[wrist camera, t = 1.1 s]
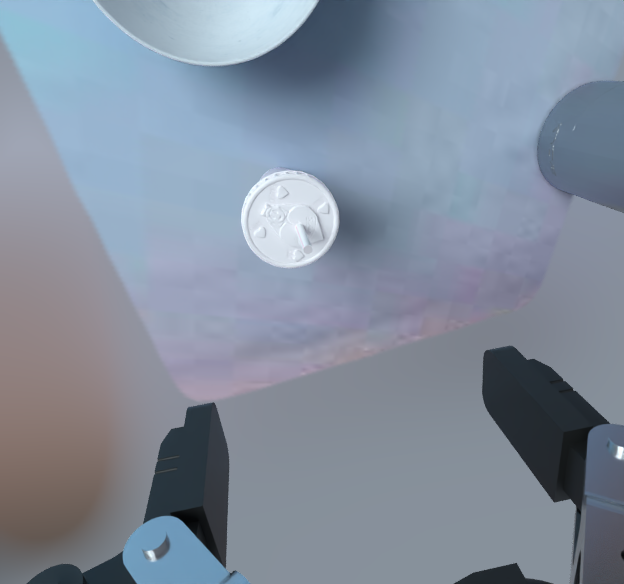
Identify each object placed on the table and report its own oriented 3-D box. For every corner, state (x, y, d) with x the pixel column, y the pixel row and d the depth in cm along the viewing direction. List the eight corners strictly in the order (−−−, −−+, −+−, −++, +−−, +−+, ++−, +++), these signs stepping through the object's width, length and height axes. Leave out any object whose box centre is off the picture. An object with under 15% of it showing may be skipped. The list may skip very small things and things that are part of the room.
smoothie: (295, 239, 40) (320, 313, 28) (227, 206, 38) (221, 270, 26) (332, 173, 38) (376, 220, 26) (262, 135, 36) (274, 166, 24)
